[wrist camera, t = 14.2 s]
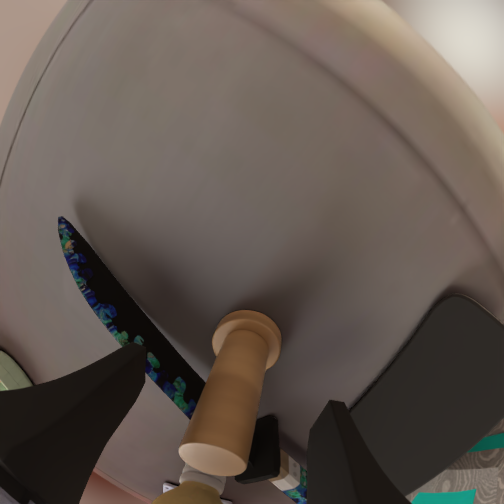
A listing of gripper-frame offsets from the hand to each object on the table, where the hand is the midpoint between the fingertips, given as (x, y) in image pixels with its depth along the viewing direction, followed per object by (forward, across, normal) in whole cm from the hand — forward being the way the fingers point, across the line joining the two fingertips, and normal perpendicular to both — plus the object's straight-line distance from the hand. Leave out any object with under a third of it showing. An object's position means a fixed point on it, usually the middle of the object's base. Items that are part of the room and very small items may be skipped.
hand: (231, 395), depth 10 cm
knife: (+6, 0, +6) cm, 8 cm away
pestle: (+5, 0, +1) cm, 5 cm away
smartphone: (+2, -9, +10) cm, 14 cm away
